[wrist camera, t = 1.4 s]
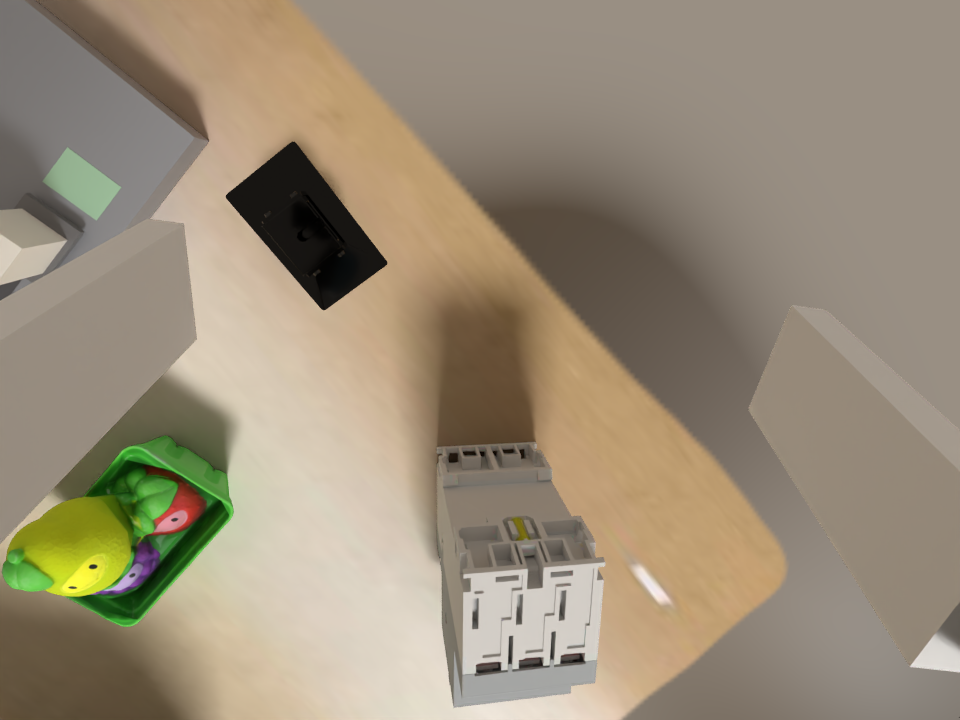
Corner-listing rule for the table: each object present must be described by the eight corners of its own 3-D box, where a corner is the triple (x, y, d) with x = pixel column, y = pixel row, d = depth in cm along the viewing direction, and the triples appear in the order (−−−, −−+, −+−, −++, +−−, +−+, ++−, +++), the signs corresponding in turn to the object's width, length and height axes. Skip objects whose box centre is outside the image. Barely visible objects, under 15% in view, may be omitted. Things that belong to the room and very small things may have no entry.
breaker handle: (44, 286, 34) (-10, 303, 30) (-12, 249, 34) (-76, 260, 29) (85, 232, 34) (37, 240, 29) (30, 193, 33) (-29, 194, 28)
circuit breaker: (437, 610, 49) (461, 786, 35) (436, 446, 45) (463, 569, 31) (528, 601, 50) (587, 768, 36) (535, 441, 46) (605, 557, 32)
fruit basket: (157, 584, 44) (86, 712, 34) (42, 519, 42) (-74, 636, 31) (255, 472, 43) (214, 568, 32) (143, 398, 41) (59, 475, 30)
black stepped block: (411, 274, 42) (415, 285, 37) (327, 337, 42) (321, 355, 38) (288, 113, 38) (276, 105, 33) (196, 185, 38) (173, 185, 34)
